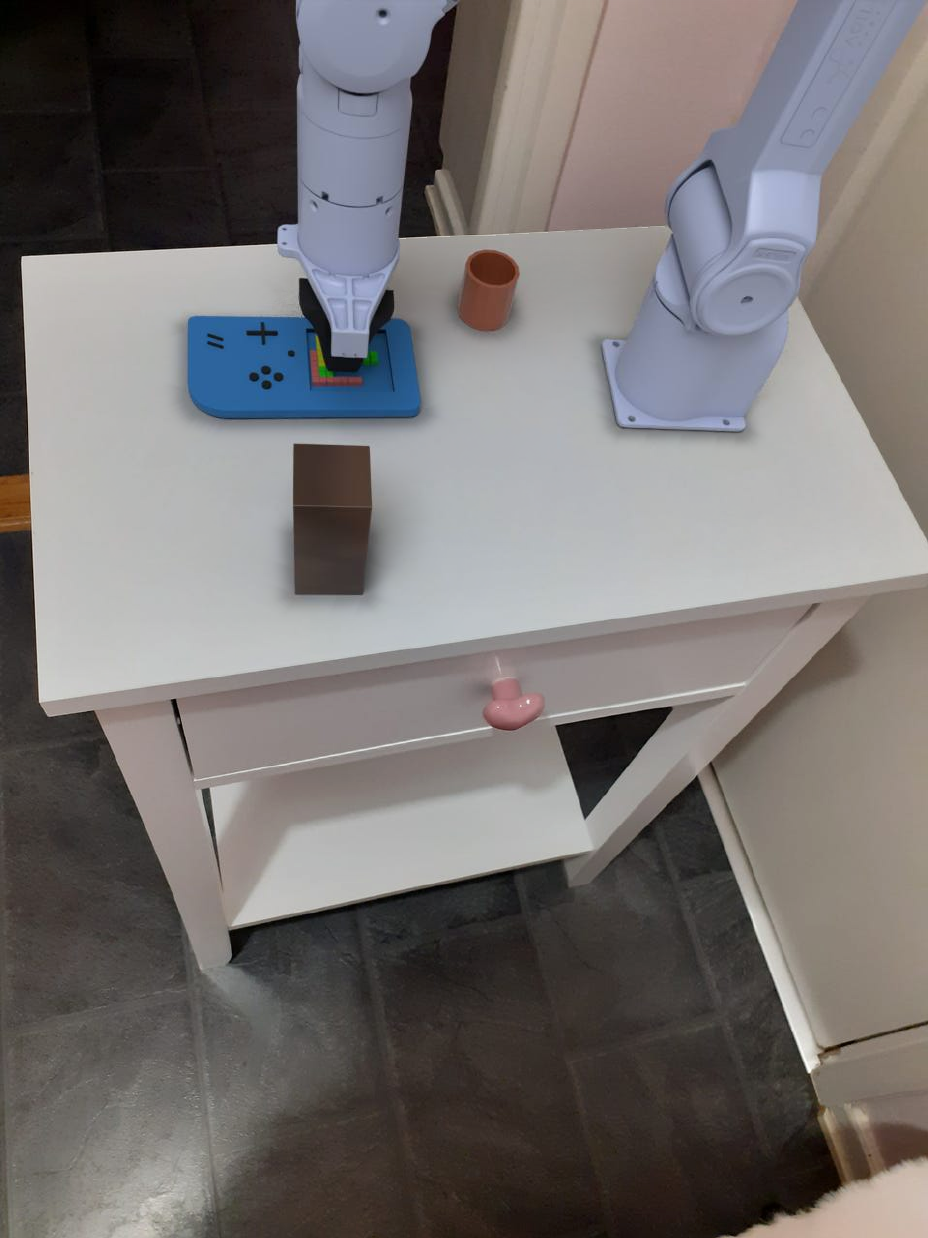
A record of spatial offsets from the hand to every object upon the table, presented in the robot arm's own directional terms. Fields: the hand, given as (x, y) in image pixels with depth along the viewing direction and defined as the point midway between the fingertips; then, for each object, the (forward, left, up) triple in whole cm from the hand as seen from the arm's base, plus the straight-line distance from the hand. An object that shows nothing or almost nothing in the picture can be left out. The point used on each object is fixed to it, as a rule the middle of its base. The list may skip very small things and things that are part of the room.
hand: (342, 355), depth 61 cm
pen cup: (-11, -7, -2) cm, 13 cm away
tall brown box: (+1, +15, -2) cm, 16 cm away
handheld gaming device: (+2, 0, -2) cm, 3 cm away
